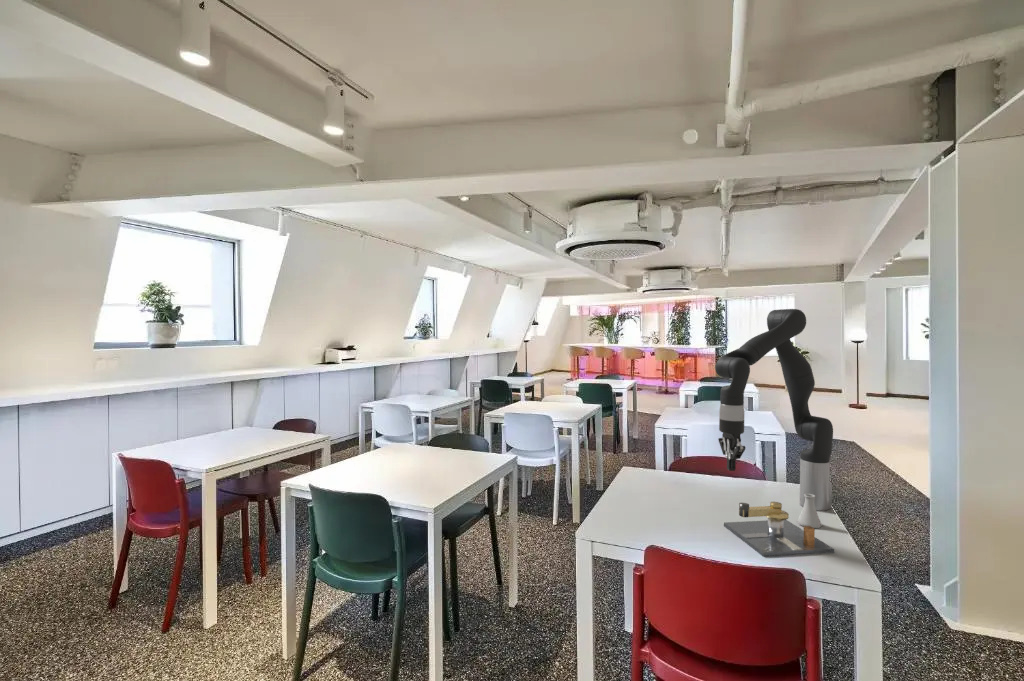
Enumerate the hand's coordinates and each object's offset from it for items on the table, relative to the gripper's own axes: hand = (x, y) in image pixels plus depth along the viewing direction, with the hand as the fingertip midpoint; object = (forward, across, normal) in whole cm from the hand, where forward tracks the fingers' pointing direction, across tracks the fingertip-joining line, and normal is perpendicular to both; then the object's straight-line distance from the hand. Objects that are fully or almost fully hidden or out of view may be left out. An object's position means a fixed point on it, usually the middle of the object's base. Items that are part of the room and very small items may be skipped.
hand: (731, 470), depth 164 cm
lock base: (+19, -10, -10) cm, 24 cm away
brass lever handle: (+12, -9, -5) cm, 16 cm away
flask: (+20, 0, -28) cm, 34 cm away
